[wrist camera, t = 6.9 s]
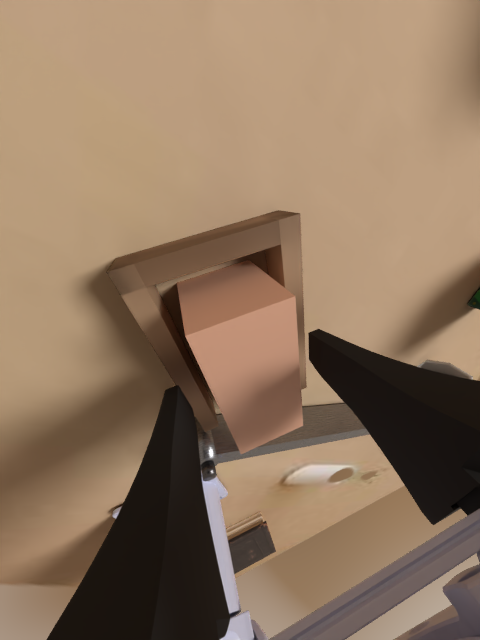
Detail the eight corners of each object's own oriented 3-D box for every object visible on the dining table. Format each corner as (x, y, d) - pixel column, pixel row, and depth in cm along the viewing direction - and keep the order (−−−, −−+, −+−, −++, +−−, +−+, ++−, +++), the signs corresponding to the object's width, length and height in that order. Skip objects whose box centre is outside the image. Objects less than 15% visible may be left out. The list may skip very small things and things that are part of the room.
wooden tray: (292, 369, 17) (306, 387, 16) (200, 407, 16) (205, 431, 14) (278, 210, 10) (300, 213, 9) (116, 258, 9) (106, 272, 8)
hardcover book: (260, 505, 34) (266, 523, 32) (271, 537, 47) (275, 551, 45) (162, 554, 31) (162, 577, 29) (202, 573, 44) (204, 590, 42)
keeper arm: (350, 410, 24) (379, 444, 21) (188, 428, 16) (194, 486, 13) (357, 401, 24) (388, 434, 20) (192, 415, 16) (200, 472, 13)
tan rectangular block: (221, 387, 16) (241, 454, 12) (176, 281, 11) (185, 336, 7) (268, 368, 16) (303, 425, 12) (247, 259, 11) (295, 296, 7)
